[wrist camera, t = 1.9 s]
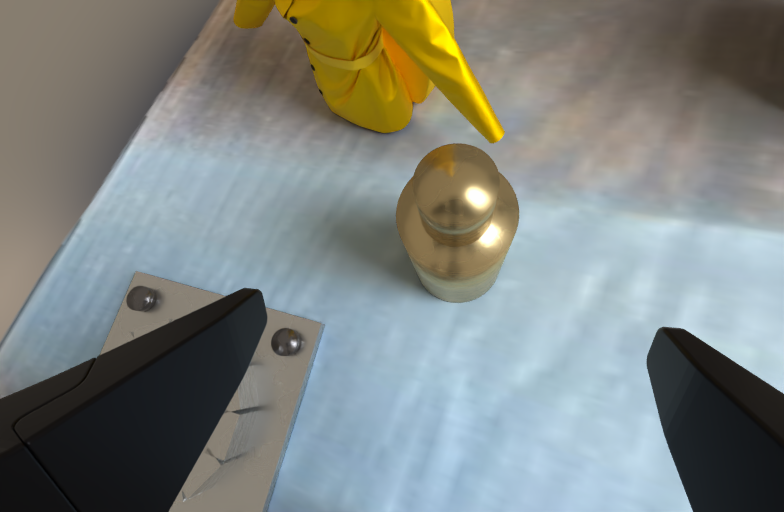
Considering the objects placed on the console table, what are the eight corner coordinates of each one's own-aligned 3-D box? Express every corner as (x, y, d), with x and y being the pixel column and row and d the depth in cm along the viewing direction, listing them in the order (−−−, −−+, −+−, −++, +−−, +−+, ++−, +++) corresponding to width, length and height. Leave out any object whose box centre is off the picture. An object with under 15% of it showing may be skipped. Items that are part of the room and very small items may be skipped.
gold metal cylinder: (489, 312, 20) (515, 266, 11) (406, 291, 21) (366, 234, 12) (507, 231, 21) (543, 129, 12) (427, 215, 22) (404, 109, 13)
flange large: (247, 574, 18) (217, 603, 16) (52, 485, 21) (4, 499, 19) (325, 324, 21) (309, 319, 19) (143, 273, 24) (110, 263, 22)
